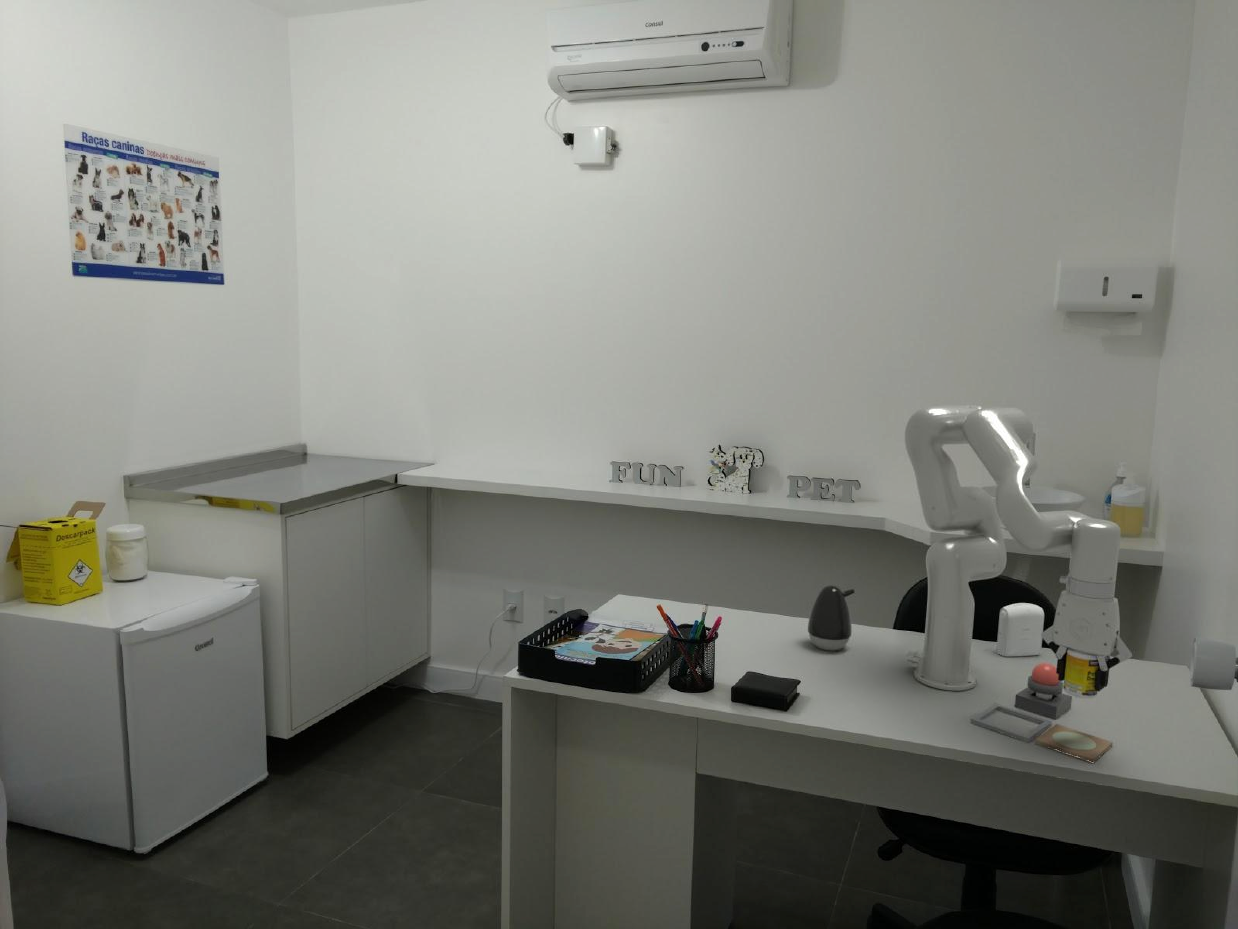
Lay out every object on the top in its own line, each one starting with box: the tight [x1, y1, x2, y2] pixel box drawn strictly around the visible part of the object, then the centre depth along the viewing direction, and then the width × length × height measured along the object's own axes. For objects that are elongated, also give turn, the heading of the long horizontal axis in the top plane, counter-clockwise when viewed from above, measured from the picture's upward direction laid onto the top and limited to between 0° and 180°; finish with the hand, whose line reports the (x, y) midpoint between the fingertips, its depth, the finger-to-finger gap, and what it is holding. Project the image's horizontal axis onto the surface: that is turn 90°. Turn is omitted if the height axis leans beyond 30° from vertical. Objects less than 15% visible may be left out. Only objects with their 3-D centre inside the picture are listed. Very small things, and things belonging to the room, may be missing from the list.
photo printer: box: [996, 602, 1045, 657], centre depth 208 cm, size 10×4×12 cm, turn 99°
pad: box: [1034, 723, 1114, 763], centre depth 163 cm, size 10×10×1 cm
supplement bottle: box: [1063, 648, 1100, 699], centre depth 161 cm, size 6×6×10 cm
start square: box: [970, 702, 1053, 743], centre depth 171 cm, size 11×11×1 cm
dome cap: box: [1026, 662, 1064, 701], centre depth 179 cm, size 6×6×8 cm
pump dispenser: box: [807, 584, 856, 651], centre depth 210 cm, size 10×10×15 cm
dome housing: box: [1014, 686, 1073, 720], centre depth 179 cm, size 8×8×2 cm
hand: (1081, 683), depth 161 cm, fingers closed on supplement bottle, 5 cm apart
